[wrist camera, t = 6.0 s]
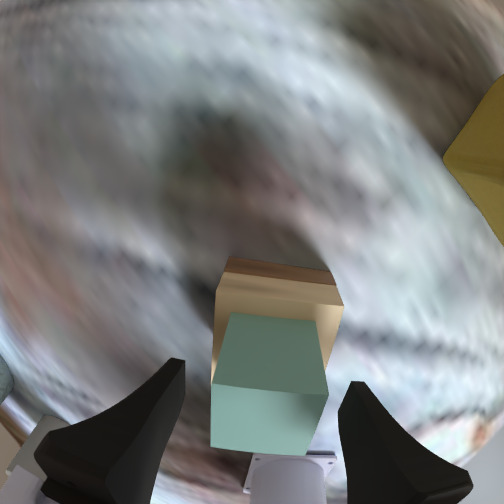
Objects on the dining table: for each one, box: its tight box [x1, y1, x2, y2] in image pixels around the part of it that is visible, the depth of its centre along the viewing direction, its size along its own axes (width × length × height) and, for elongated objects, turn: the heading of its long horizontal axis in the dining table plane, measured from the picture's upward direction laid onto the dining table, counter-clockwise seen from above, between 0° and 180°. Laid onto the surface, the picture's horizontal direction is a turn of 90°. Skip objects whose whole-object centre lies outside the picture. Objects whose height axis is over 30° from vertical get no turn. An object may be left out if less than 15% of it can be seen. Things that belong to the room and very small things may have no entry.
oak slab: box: [211, 272, 344, 383], centre depth 16 cm, size 6×6×2 cm
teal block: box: [211, 312, 329, 456], centre depth 13 cm, size 4×4×5 cm
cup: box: [6, 415, 70, 482], centre depth 22 cm, size 8×8×10 cm
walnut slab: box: [224, 257, 336, 286], centre depth 18 cm, size 6×6×2 cm
